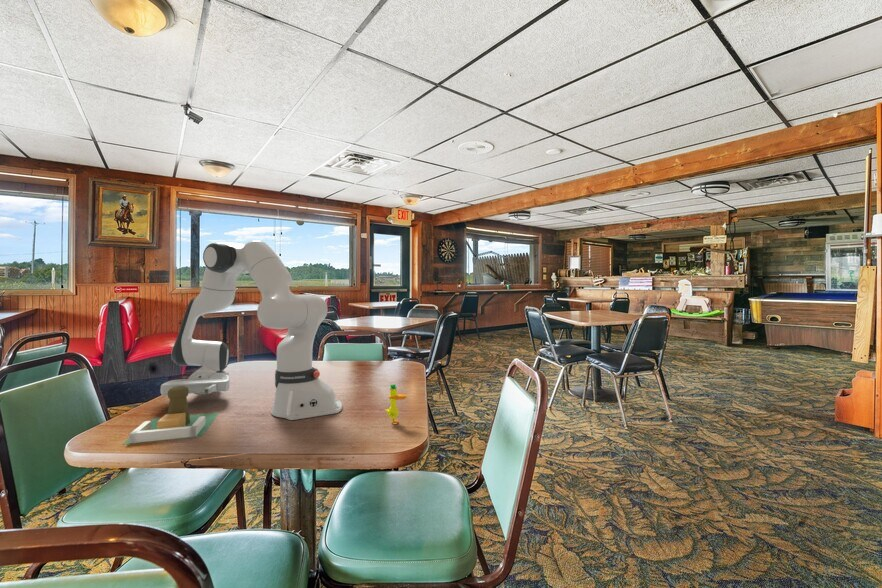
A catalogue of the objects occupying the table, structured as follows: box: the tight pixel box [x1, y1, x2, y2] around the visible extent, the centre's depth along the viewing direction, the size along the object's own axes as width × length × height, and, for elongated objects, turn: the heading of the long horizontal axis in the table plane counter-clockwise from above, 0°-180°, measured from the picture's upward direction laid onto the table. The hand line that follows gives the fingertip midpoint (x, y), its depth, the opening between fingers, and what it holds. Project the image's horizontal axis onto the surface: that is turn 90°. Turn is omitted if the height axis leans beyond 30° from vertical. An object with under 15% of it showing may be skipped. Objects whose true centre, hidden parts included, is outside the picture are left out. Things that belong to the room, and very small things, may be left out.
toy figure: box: [384, 383, 408, 424], centre depth 114 cm, size 7×4×12 cm, turn 92°
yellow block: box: [157, 413, 186, 429], centre depth 106 cm, size 5×6×4 cm
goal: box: [128, 416, 206, 444], centre depth 104 cm, size 15×10×2 cm, turn 109°
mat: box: [121, 412, 220, 446], centre depth 109 cm, size 18×20×1 cm
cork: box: [167, 386, 190, 424], centre depth 111 cm, size 6×6×11 cm
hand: (190, 392), depth 122 cm, fingers open, 8 cm apart
